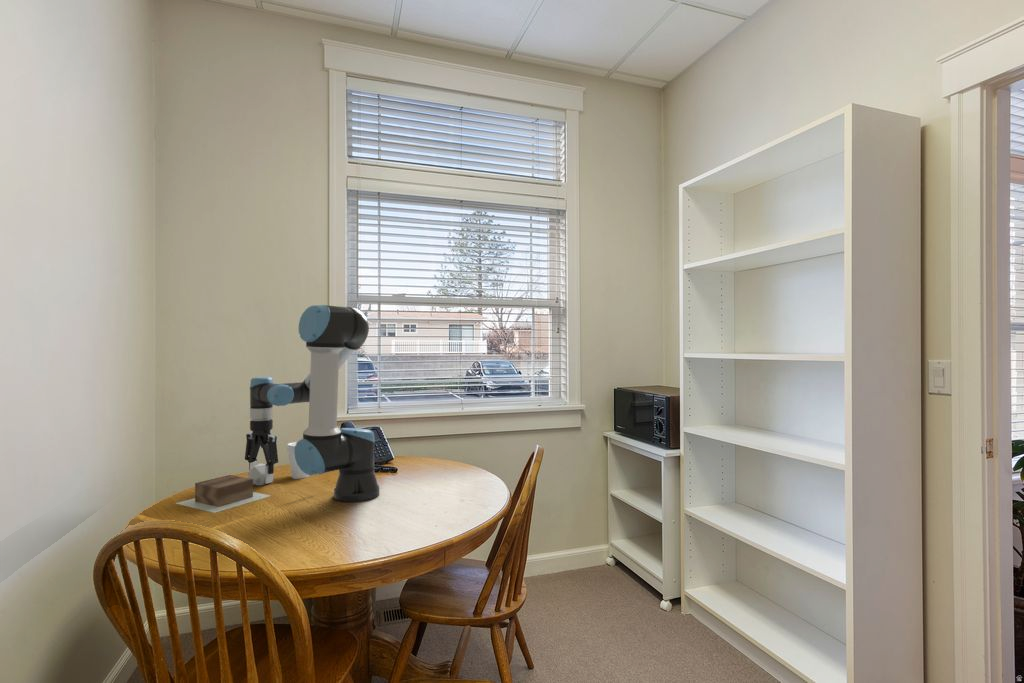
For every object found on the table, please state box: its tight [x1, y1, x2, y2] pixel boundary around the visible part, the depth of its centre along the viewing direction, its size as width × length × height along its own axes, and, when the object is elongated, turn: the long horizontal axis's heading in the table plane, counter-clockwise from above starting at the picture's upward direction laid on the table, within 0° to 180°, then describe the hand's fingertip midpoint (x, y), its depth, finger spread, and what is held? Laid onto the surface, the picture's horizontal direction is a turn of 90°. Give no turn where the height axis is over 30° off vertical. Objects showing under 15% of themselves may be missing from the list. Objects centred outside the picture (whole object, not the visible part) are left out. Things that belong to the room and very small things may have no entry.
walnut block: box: [194, 474, 254, 507], centre depth 172 cm, size 12×12×6 cm
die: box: [247, 463, 275, 486], centre depth 192 cm, size 8×9×10 cm
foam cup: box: [287, 441, 310, 480], centre depth 205 cm, size 10×9×13 cm
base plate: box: [174, 491, 271, 514], centre depth 172 cm, size 20×20×1 cm
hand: (261, 481), depth 192 cm, fingers closed on die, 8 cm apart
